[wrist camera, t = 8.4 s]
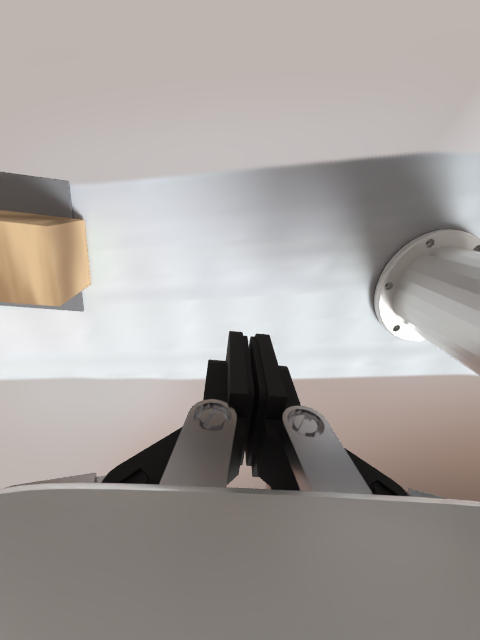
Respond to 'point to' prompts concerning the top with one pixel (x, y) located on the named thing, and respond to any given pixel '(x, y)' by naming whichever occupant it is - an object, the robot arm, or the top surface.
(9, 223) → the oak block
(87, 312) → the top surface
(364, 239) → the top surface
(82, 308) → the mat
